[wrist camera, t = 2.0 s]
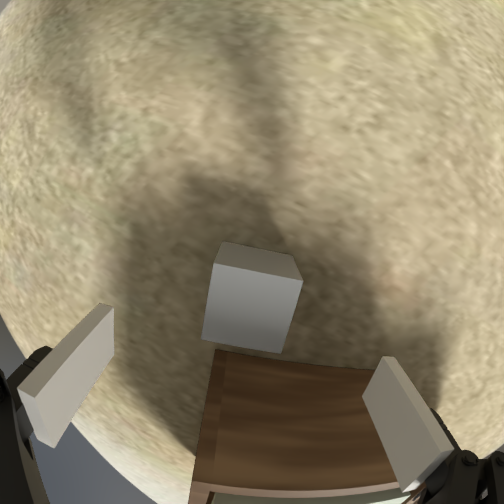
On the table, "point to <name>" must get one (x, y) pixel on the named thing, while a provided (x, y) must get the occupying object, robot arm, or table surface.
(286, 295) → the block
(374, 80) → the table surface
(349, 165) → the table surface
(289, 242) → the table surface
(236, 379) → the box frame
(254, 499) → the trapdoor
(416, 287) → the table surface
